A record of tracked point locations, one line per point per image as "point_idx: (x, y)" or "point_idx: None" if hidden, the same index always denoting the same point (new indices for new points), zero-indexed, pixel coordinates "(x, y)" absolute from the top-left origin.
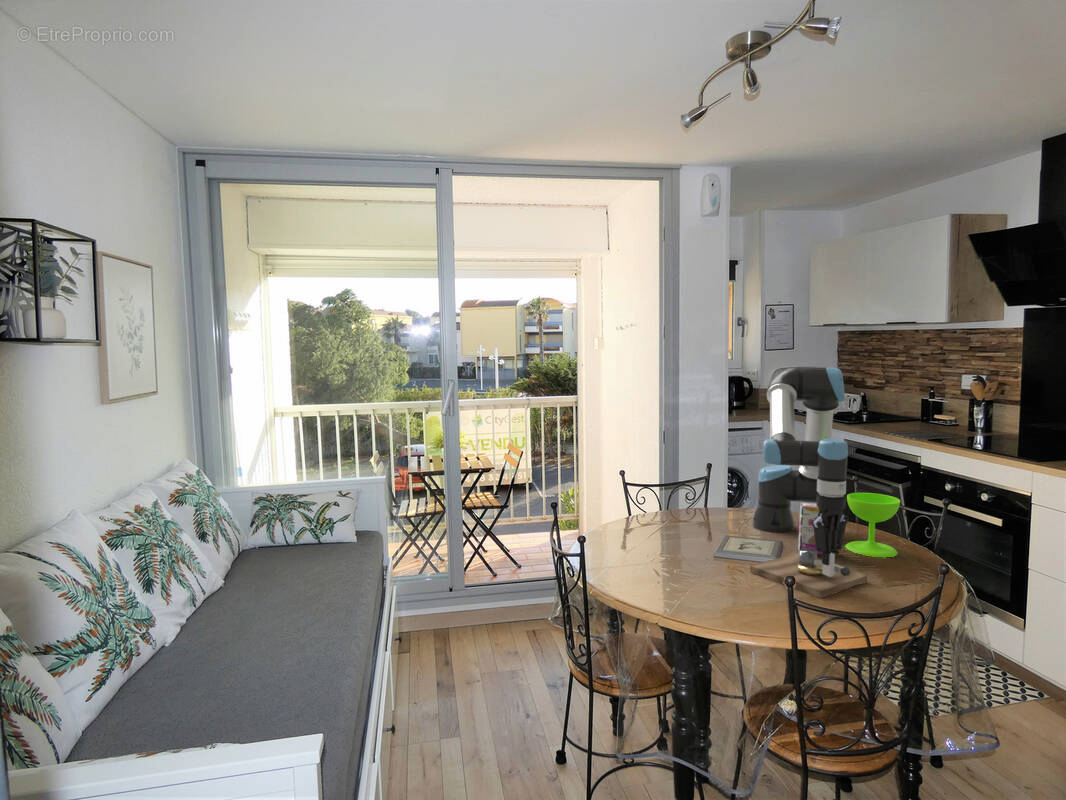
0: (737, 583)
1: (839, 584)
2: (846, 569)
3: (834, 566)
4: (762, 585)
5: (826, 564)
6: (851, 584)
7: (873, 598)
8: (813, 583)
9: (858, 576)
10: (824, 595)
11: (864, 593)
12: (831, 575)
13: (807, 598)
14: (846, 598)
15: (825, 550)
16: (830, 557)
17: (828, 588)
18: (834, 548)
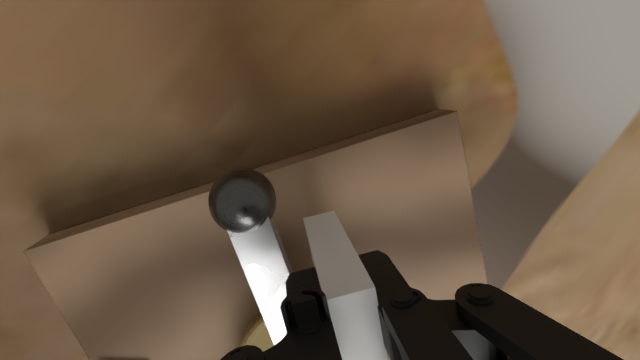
0: (621, 325)
1: (293, 168)
2: (252, 183)
3: (286, 263)
4: (555, 292)
5: (380, 253)
6: (188, 193)
7: (173, 24)
8: (415, 212)
9: (92, 249)
10: (414, 118)
11: (175, 101)
12: (325, 216)
13: (495, 123)
14: (321, 69)
15: (487, 298)
16: (369, 276)
17: (394, 131)
18: (337, 342)
